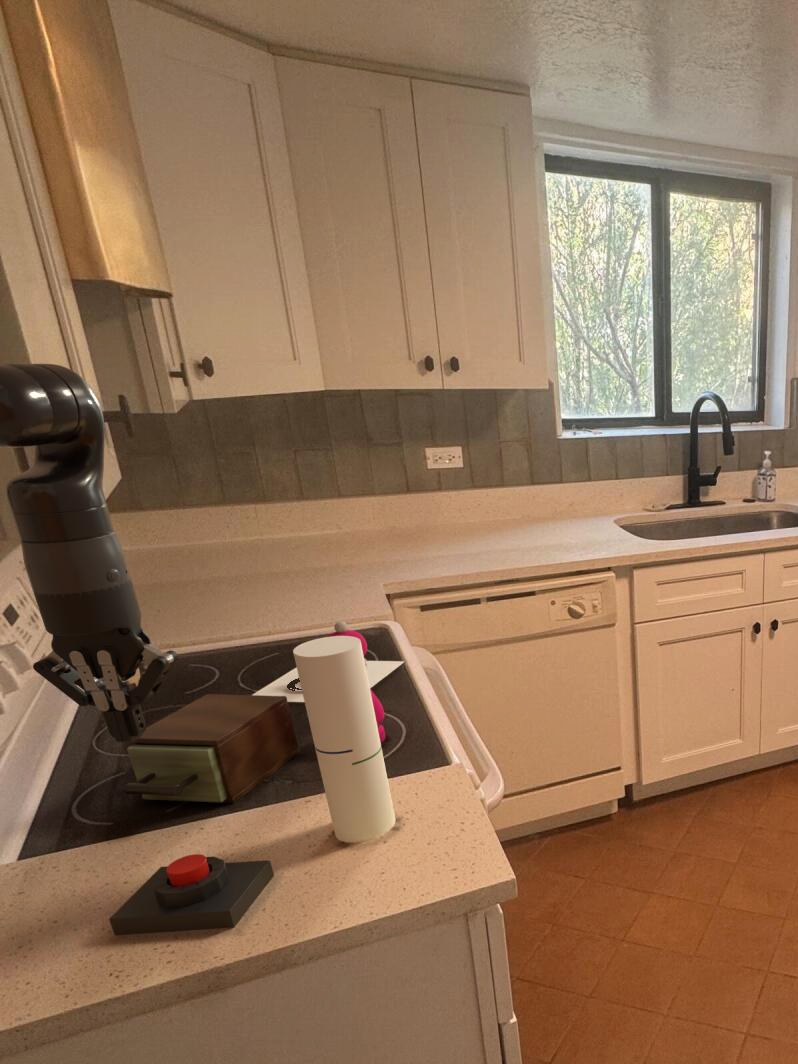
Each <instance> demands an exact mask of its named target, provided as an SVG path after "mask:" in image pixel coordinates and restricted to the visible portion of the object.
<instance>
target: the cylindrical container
mask: <svg viewBox="0 0 798 1064" xmlns="http://www.w3.org/2000/svg"><path fill="white" fill-rule="evenodd" d="M292 653H293V657H294V660H295V666H296V667H297V671H298V675H299V680H300V684H301V688H302V693H303V697H304V701H305V702H304V706H305V710H306V714H307V718H308V722H309V727H310V733H311V737H312V740H313V744H314V750H315V754H316V758H317V762H318V767H319V771H320V775H321V780H322V784H323V787H324V788H323V789H324V793H325V797H326V801H327V806H328V811H329V815H330V819H331V823H332V828H333V832H334V837H335V838H336V839H337V840H339V841H341V842H345V843H361V842H366V841H370V840H374V839H376V838H379V837H381V836H382V835H384V834H386V833H387V832H389V831H390V830H391V829H392V828H393V827H394V826H395V824H396V814H395V811H394V810H395V809H394V805H393V799H392V794H391V789H390V785H389V779H388V773H387V769H386V764H385V759H384V753H383V748H382V743H380V738H379V732H378V727H377V722H376V717H375V712H374V707H373V702H372V697H371V691H370V689H371V688H370V686H369V681H368V676H367V671H366V666H365V661H364V658H365V655H364V656H363V650H362V645H361V640H360V639H358V638H356V637H352V636H331V637H328V636H326V637H320V638H315V639H312V640H308V641H305V642H302V643H301V644H299V645H297V646H296V647H294V649H293V650H292Z"/></svg>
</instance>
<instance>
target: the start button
mask: <svg viewBox="0 0 798 1064" xmlns="http://www.w3.org/2000/svg"><path fill="white" fill-rule="evenodd" d="M206 857H207V856H205V855H204V854H200V853H195V854H189V855H185V856H182V857H180V858H178V859H175V860H174V861H172V862H170V863H169V865H168V867H167V870H166V871H167V874H168V877H169V880H170V884H171V885H172V886H173V887H179V886H186V885H189V884H193V883H196V882H198V881H200V880H201V879H203V878H205V877H207V876H208V875H209V873H210V869H209V866H208V863H207V859H206Z"/></svg>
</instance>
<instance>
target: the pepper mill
mask: <svg viewBox="0 0 798 1064" xmlns="http://www.w3.org/2000/svg"><path fill="white" fill-rule="evenodd" d="M331 636H352V637H356V638H358V639H360V640H361V645H362V650H363V656H364V661H365V666H366V669H367V667H368V666H367V664H366V662H367V661H368V660H367V658H365V655H366V654H367V652H368V643H367V641H366V639H365V637H364V636H363V635H362V634H361V633H360V632H357V631H356V630H350V629H349V627H348V624H347V623H346V622H345V621H337V622H336V623H335V624H334V632H332V633H331V634H328V636H327V637H331ZM370 691H371V697H372V702H373V707H374V712H375V717H376V722H377V727H378V732H379V738H380V743H381V744H382V743H383V742H384V741H385V740H386V732H385V727H384V726H383V725H382V723H383V721H384V719H385V709H384V706H383V704H382V703H381V701H380V699H379V698H378V697H377V695H376V694H375V692H374V691H373V690H372V688H370Z"/></svg>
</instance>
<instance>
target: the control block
mask: <svg viewBox="0 0 798 1064" xmlns="http://www.w3.org/2000/svg"><path fill="white" fill-rule="evenodd" d="M205 857H206V859H207V863H208V866H209V869H210V873H209V875H208V876H207V877H205V878H203V879H201V880H200V881H198V882H196V883H193V884H189V885H186V886H179V887H173V886H172V885H171V884H170V880H169V877H168V874H167V871H166V870H167V867H168V866H169V865H168V866H160V867H159V868H158V869H157V870H156V871H155V872H154V873H153V874H152V875H151V876H150V877H149V878H148V879H147V880H146V881H145V882H144V883H143V884H142V885H141V886H140V887H139V888H138V889H137V890H136V891H135V892H134V893H133V894H132V895H131V896H130V897H129V898H128V899H127V900H126V901H125V902H124V903H123V904H122V905H121V906H120V907H119V908H118V909H117V910H116V911H115V912H114V914H112V916H111V917H109V918H108V920H109V924H110V927H111V929H112V932H113V935H114V936H128V935H143V934H144V935H145V934H157V933H158V934H159V933H160V934H161V933H174V932H176V933H177V932H188V931H189V932H190V931H204V930H218V929H219V930H220V929H235V928H236V926H237V925H238V924H239V923H240V921H241V920H242V919H243V917H244V916H245V914H246V913H247V912H248V910H249V909H250V908H251V907H252V905H253V904H254V903H255V901H256V900H257V899H258V897H260V895H261V894H262V892H263V891H264V890H265V888H266V887H267V886H268V885H269V883H270V882H271V881H272V879H273V878H274V877H275V874H274V873H275V872H274V869H273V866H272V861H271V860H270V859H268V860H251V861H249V860H248V861H233V862H232V861H231V862H225V860H224V859H221V858H219V857H216V856H205Z"/></svg>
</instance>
